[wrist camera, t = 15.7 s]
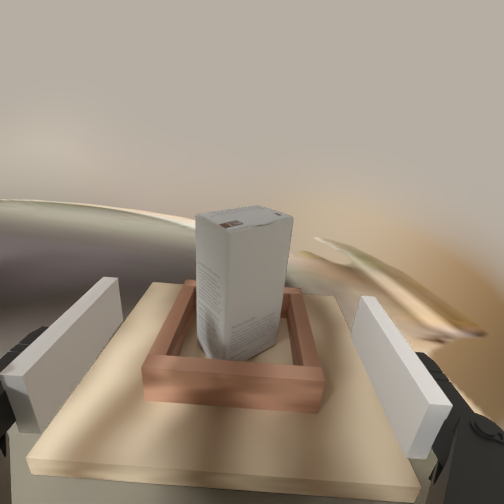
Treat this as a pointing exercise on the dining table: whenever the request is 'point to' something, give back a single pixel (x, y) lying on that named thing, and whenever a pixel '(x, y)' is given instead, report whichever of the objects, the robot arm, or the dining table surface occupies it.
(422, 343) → the dining table surface
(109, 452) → the holder
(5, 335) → the dining table surface
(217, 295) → the skincare box
